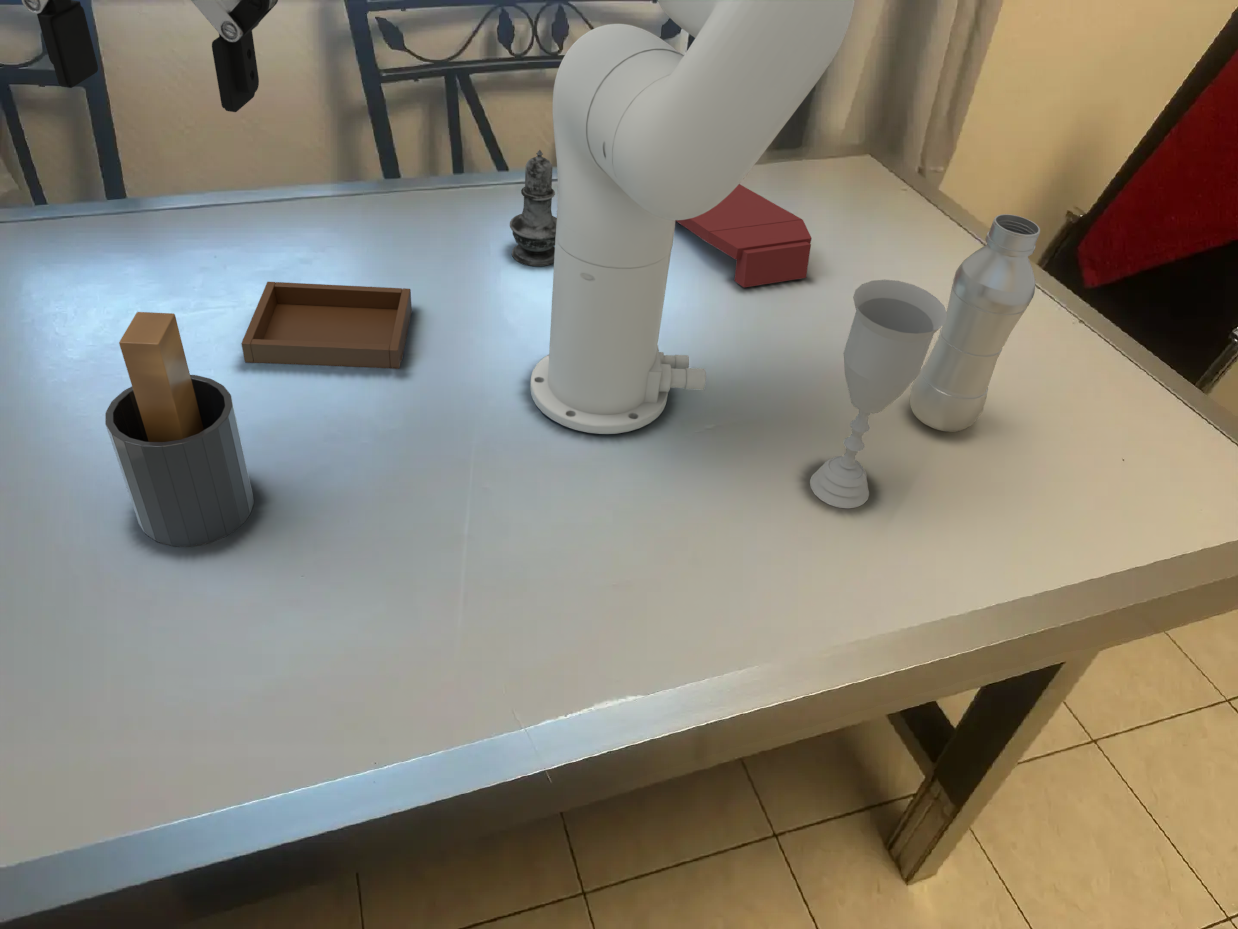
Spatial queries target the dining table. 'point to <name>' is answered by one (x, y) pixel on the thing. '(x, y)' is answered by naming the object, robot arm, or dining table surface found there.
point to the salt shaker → (535, 216)
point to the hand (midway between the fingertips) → (159, 91)
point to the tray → (329, 325)
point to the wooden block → (160, 377)
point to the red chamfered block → (755, 237)
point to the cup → (184, 470)
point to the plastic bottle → (977, 326)
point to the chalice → (878, 372)
